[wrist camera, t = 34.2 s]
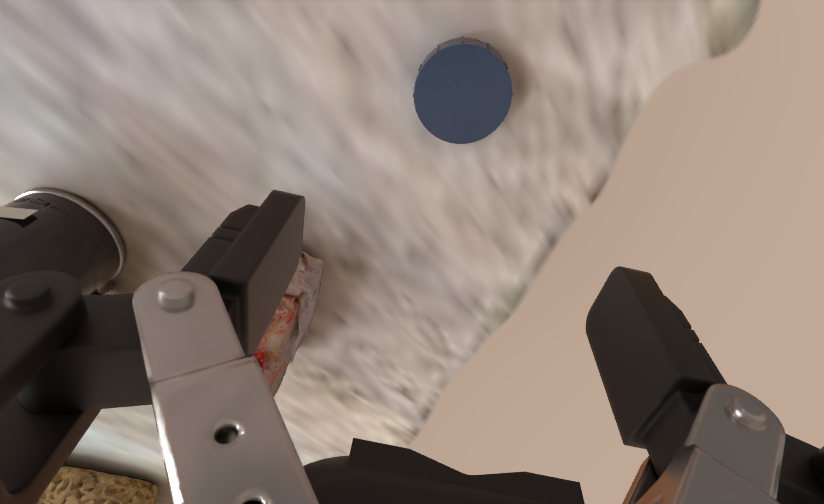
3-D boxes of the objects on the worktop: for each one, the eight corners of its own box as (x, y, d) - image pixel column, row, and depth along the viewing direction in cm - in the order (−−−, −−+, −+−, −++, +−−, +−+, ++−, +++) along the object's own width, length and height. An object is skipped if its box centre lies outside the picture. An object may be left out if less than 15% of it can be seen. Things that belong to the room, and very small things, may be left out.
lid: (428, 27, 28) (426, 32, 26) (522, 51, 28) (526, 58, 26) (408, 120, 31) (404, 131, 29) (491, 142, 31) (493, 153, 29)
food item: (241, 214, 36) (177, 290, 28) (337, 245, 37) (301, 327, 29) (226, 330, 44) (172, 417, 36) (306, 354, 44) (271, 444, 36)
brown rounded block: (165, 461, 60) (-15, 449, 55) (144, 529, 55) (-58, 523, 49) (167, 489, 69) (13, 481, 64) (150, 550, 64) (-20, 547, 58)
